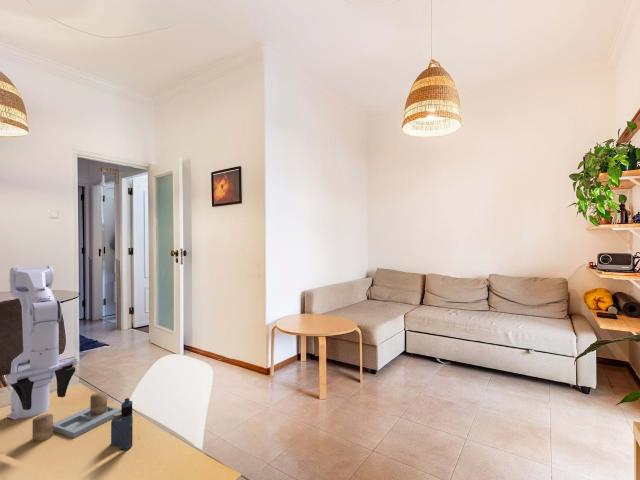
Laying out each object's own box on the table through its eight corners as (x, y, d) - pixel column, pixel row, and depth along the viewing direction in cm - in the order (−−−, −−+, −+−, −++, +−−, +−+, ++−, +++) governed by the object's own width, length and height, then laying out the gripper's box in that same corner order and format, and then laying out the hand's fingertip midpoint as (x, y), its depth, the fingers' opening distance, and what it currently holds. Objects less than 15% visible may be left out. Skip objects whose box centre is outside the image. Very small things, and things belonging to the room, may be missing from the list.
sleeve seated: (86, 417, 94) (86, 396, 94) (101, 410, 98) (101, 390, 98) (96, 421, 92) (96, 399, 92) (111, 413, 96) (111, 392, 96)
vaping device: (127, 451, 80) (127, 402, 80) (108, 449, 81) (108, 400, 81) (135, 445, 83) (135, 397, 83) (117, 443, 84) (117, 395, 84)
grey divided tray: (50, 433, 88) (50, 424, 88) (98, 410, 100) (99, 403, 100) (74, 441, 84) (74, 432, 84) (121, 417, 96) (121, 409, 96)
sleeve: (27, 444, 83) (27, 420, 83) (47, 435, 87) (47, 412, 87) (37, 448, 82) (38, 423, 82) (57, 438, 86) (57, 415, 86)
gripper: (19, 357, 77) (19, 417, 76) (84, 342, 91) (84, 393, 90) (2, 355, 80) (2, 413, 79) (67, 341, 93) (68, 390, 92)
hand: (44, 402), depth 85 cm, fingers open, 7 cm apart
